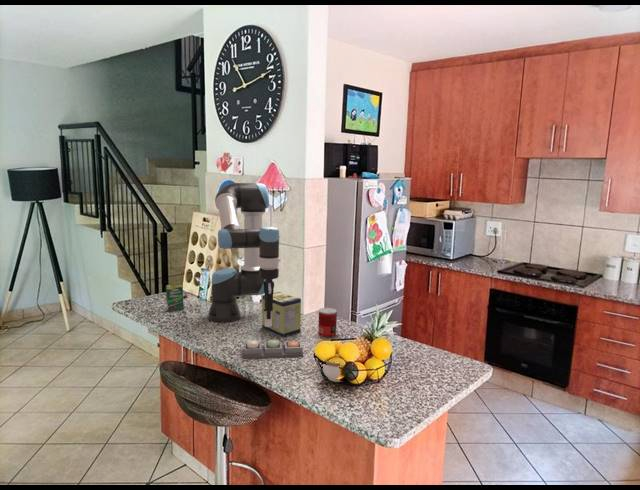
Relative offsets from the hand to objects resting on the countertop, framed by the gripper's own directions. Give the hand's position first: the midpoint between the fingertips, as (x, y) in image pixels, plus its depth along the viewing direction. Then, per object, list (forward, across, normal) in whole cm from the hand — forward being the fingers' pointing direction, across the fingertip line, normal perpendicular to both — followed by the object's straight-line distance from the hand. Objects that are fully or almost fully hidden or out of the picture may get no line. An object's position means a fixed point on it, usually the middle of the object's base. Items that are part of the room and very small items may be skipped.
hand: (268, 325), depth 178 cm
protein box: (+12, +24, -8) cm, 28 cm away
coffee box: (+12, +58, +42) cm, 73 cm away
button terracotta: (+10, -1, -10) cm, 14 cm away
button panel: (+11, 0, -2) cm, 11 cm away
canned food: (+11, +17, -28) cm, 34 cm away
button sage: (+9, 0, -2) cm, 9 cm away
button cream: (+9, 0, +6) cm, 11 cm away
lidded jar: (+11, -25, -22) cm, 35 cm away
